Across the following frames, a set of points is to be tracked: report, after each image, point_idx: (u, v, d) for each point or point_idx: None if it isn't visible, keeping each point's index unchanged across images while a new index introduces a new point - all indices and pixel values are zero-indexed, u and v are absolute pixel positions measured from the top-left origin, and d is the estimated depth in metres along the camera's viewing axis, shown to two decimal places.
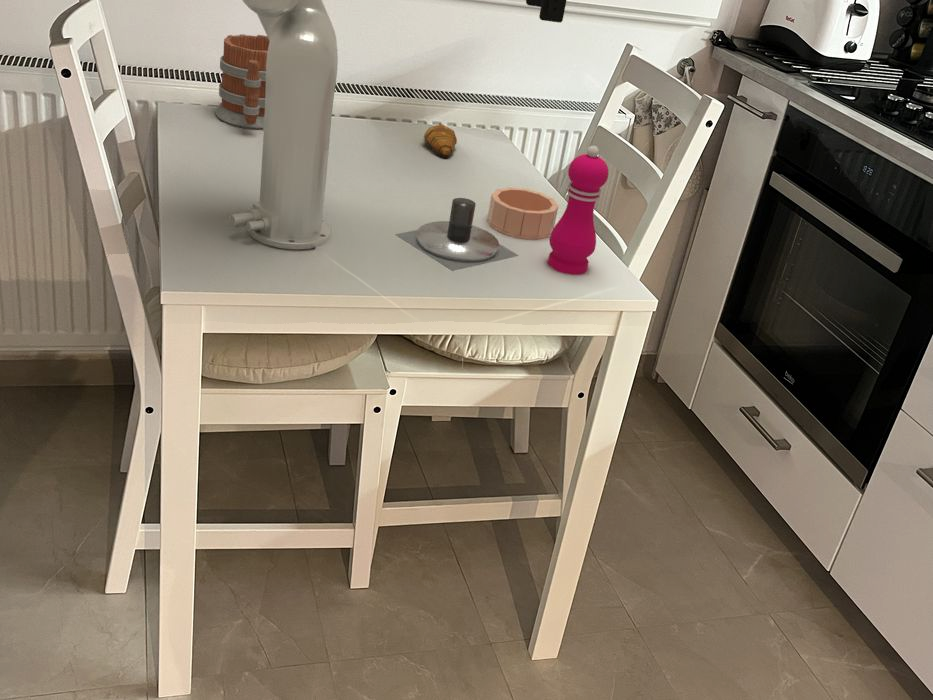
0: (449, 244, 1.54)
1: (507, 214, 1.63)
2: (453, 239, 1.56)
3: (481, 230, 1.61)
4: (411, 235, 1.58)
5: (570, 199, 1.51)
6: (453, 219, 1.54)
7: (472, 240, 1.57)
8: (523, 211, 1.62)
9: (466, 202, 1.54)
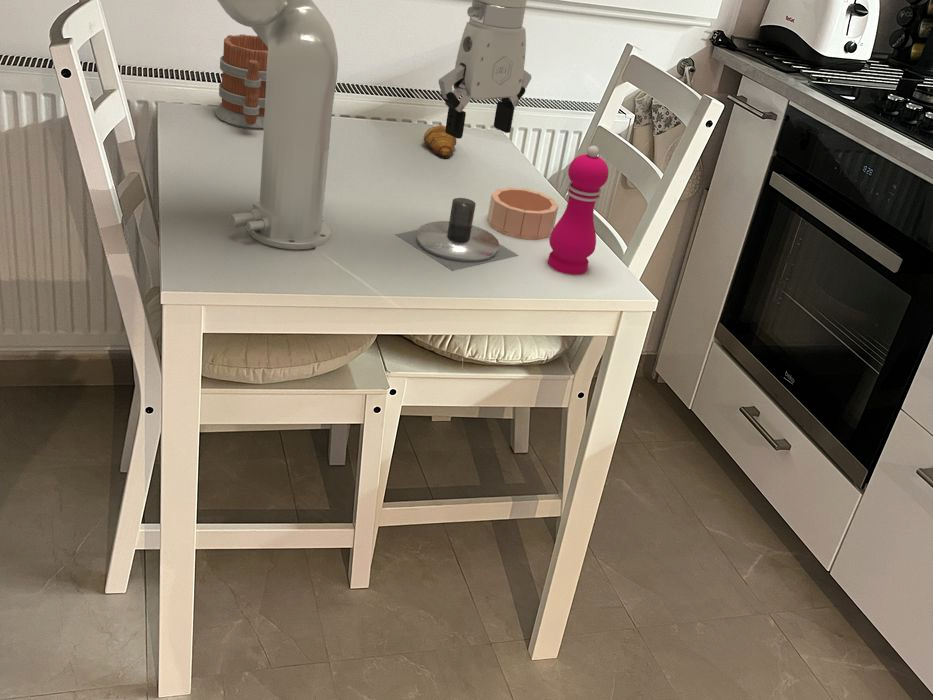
0: (449, 244, 1.54)
1: (507, 214, 1.63)
2: (453, 239, 1.56)
3: (481, 230, 1.61)
4: (411, 235, 1.58)
5: (570, 199, 1.51)
6: (453, 219, 1.54)
7: (472, 240, 1.57)
8: (523, 211, 1.62)
9: (466, 202, 1.54)
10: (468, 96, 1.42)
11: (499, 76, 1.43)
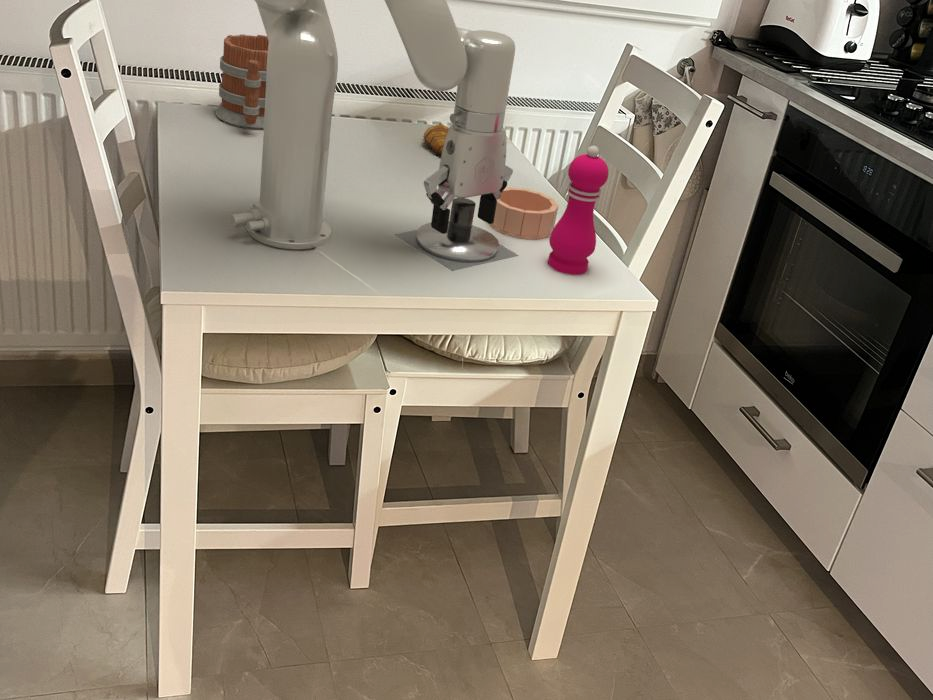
0: (449, 244, 1.54)
1: (507, 214, 1.63)
2: (453, 239, 1.56)
3: (481, 230, 1.61)
4: (411, 235, 1.58)
5: (570, 199, 1.51)
6: (453, 219, 1.54)
7: (472, 240, 1.57)
8: (523, 211, 1.62)
9: (466, 202, 1.54)
10: (452, 195, 1.50)
11: (481, 175, 1.50)
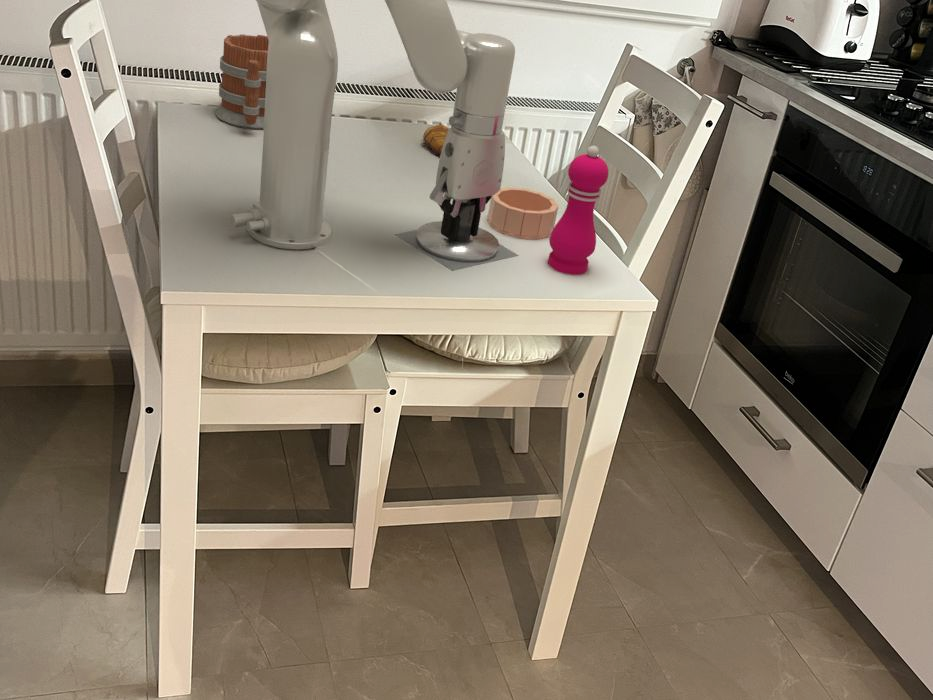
0: (449, 244, 1.54)
1: (507, 214, 1.63)
2: None
3: (481, 230, 1.61)
4: (411, 235, 1.58)
5: (570, 199, 1.51)
6: None
7: (472, 240, 1.57)
8: (523, 211, 1.62)
9: (466, 202, 1.54)
10: (458, 201, 1.51)
11: (479, 178, 1.50)
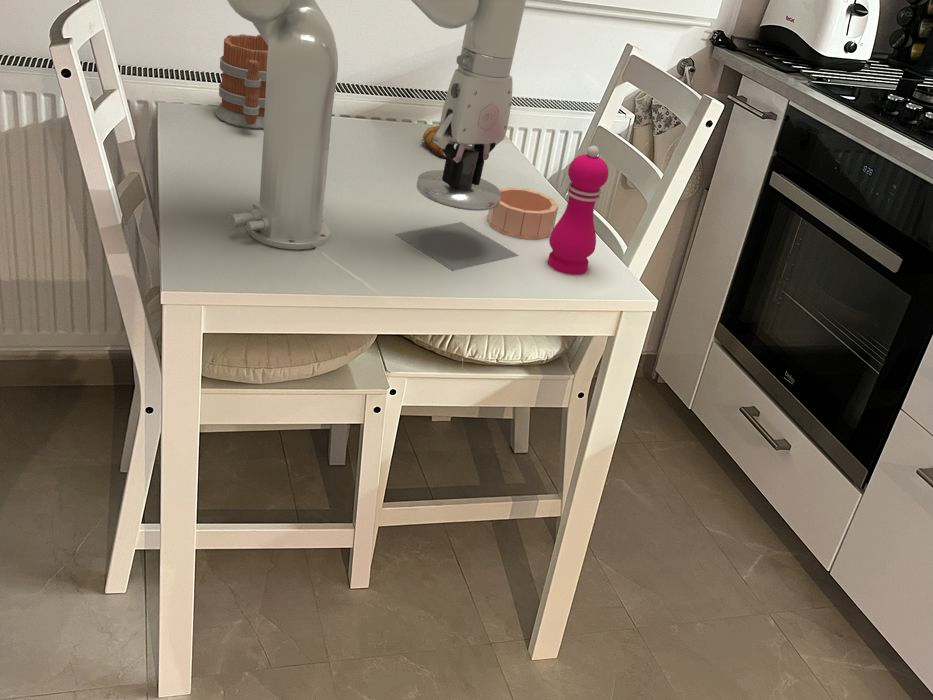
0: (451, 191, 1.50)
1: (507, 214, 1.63)
2: None
3: (483, 181, 1.57)
4: (411, 235, 1.58)
5: (570, 199, 1.51)
6: None
7: (474, 189, 1.53)
8: (523, 211, 1.62)
9: (470, 149, 1.50)
10: (462, 146, 1.47)
11: (485, 122, 1.46)
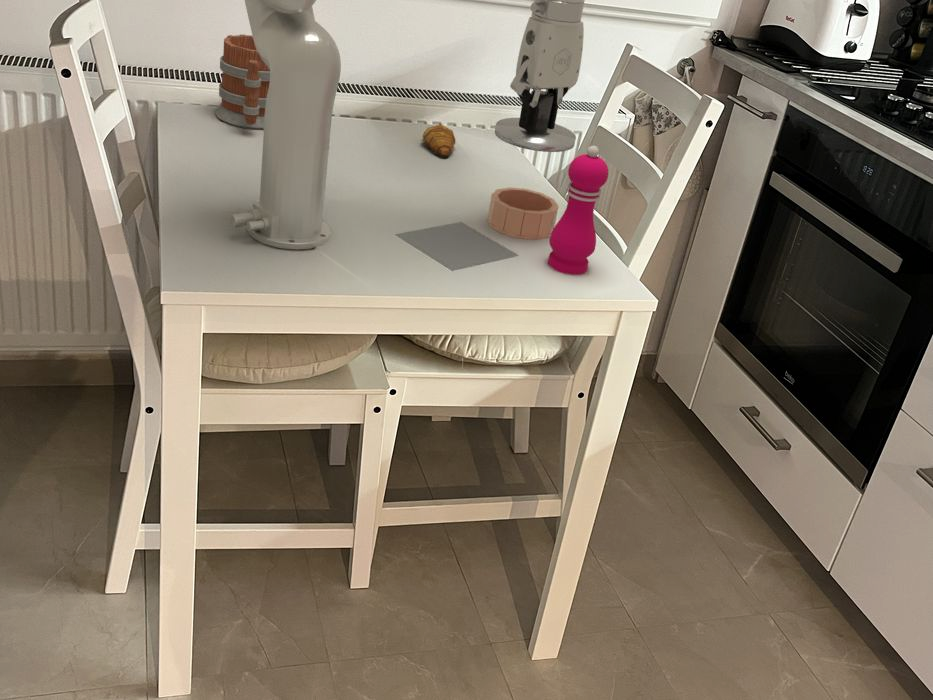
0: (528, 135, 1.57)
1: (507, 214, 1.63)
2: None
3: (557, 125, 1.64)
4: (411, 235, 1.58)
5: (570, 199, 1.51)
6: None
7: (550, 133, 1.60)
8: (523, 211, 1.62)
9: (545, 94, 1.57)
10: (537, 91, 1.54)
11: (559, 67, 1.53)
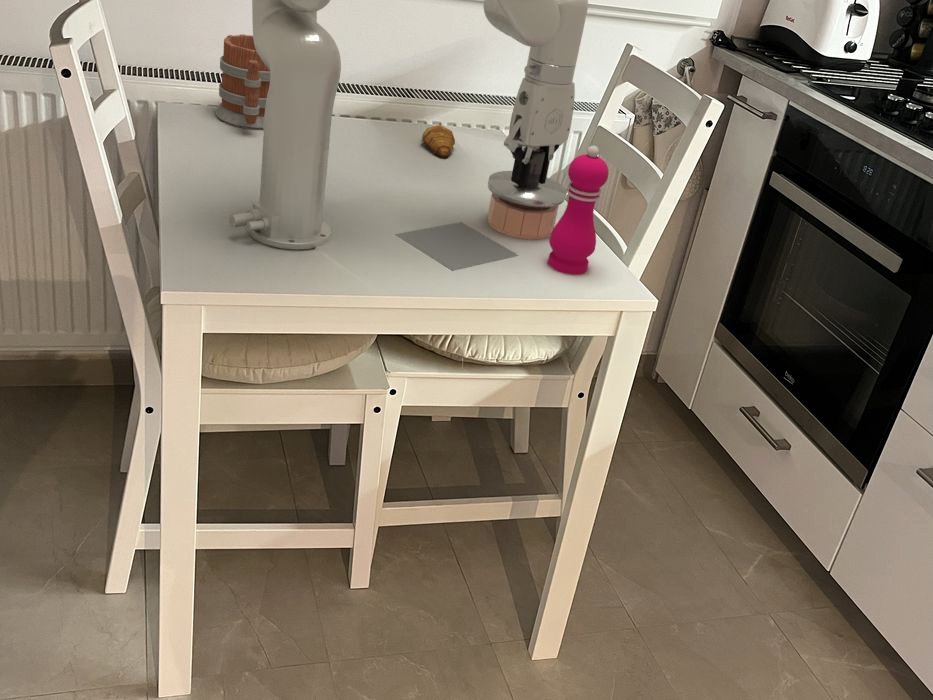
0: (520, 190, 1.63)
1: (507, 214, 1.63)
2: None
3: (548, 179, 1.70)
4: (411, 235, 1.58)
5: (570, 199, 1.51)
6: None
7: (541, 187, 1.65)
8: (523, 211, 1.62)
9: (536, 150, 1.63)
10: (530, 148, 1.60)
11: (551, 126, 1.58)
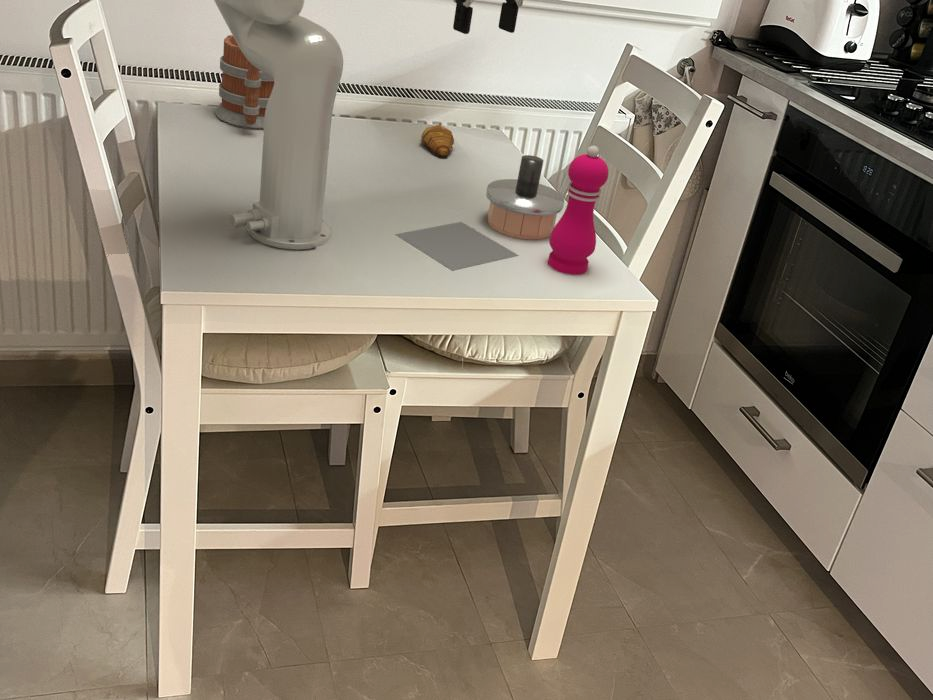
0: (519, 199, 1.63)
1: (507, 214, 1.63)
2: (522, 194, 1.65)
3: (546, 187, 1.70)
4: (411, 235, 1.58)
5: (570, 199, 1.51)
6: (522, 175, 1.63)
7: (539, 196, 1.66)
8: None
9: (535, 159, 1.63)
10: None
11: None
